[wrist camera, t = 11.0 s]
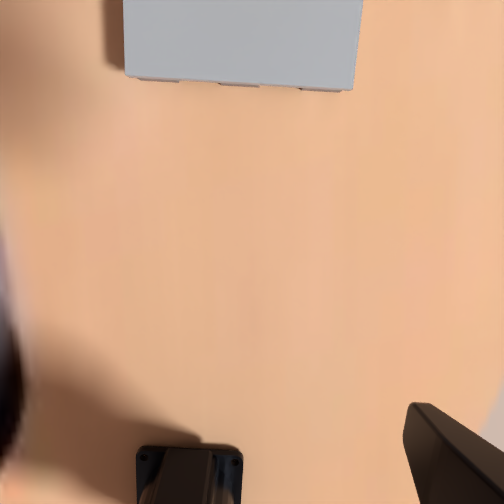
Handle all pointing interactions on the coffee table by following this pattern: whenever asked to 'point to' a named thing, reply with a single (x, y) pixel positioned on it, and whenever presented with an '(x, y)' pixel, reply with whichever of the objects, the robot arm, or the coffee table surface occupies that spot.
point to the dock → (244, 42)
